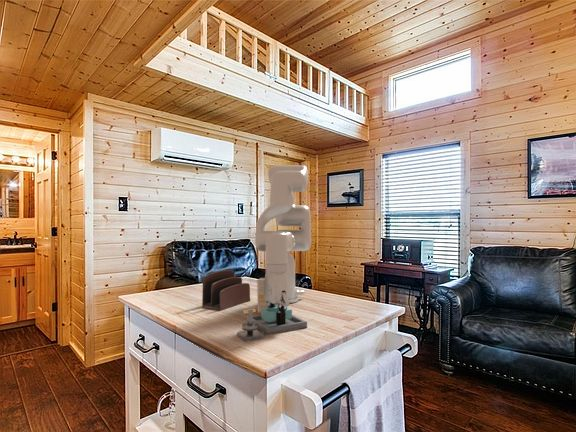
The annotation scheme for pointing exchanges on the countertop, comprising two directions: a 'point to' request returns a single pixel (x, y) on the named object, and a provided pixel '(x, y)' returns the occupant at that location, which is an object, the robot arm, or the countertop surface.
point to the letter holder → (224, 290)
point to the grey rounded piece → (249, 328)
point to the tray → (273, 328)
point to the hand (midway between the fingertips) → (276, 321)
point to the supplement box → (261, 295)
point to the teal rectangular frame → (274, 314)
